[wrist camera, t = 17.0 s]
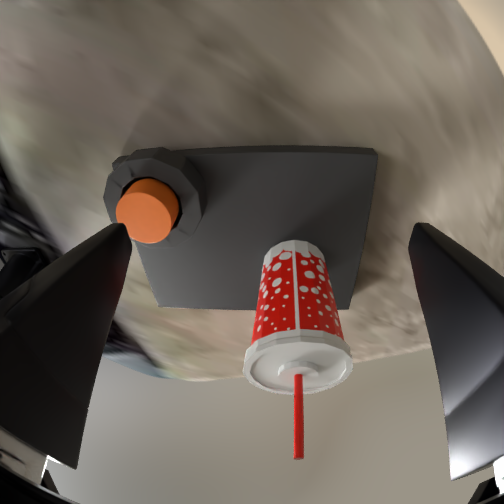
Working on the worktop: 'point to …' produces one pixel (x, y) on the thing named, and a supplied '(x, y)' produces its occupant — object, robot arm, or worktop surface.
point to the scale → (249, 217)
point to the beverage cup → (296, 330)
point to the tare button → (148, 210)
